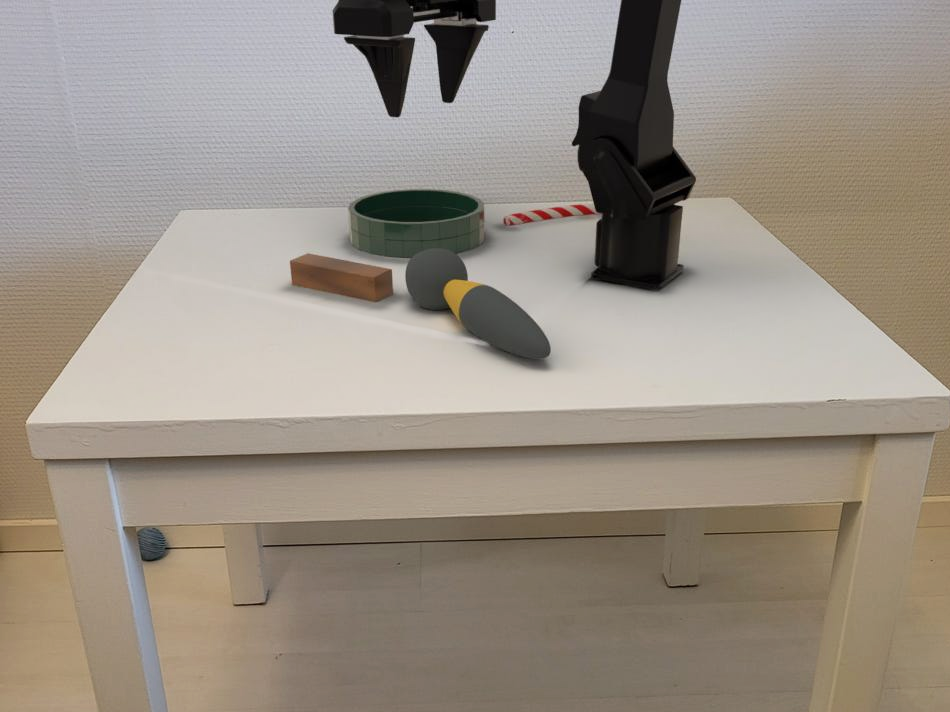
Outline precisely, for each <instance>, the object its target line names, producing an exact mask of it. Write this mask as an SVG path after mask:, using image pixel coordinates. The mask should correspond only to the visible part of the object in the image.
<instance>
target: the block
mask: <svg viewBox="0 0 950 712" xmlns="http://www.w3.org/2000/svg"><path fill="white" fill-rule="evenodd" d="M289 266H290V277H291V285H292V286H296V287H301V288H306V289H310V290H315V291H320V292H325V293H328V294H329V293H330V294H334V295H339V296H344V297H348V298H353V299H358V300H363V301H368V302H373V303H378V302H379V301H382V300H384V299H385V298H388V297H390V296H392V295H393V294H394V283H393V281H394V280H393V269H392V268H388V267H382V266H377V265H371V264H366V263H361V262H356V261H351V260H347V259H341V258H334V257H330V256H324V255H318V254H314V253H308V252H307V253H305V254H303V255H300V256H298V257H295V258H293V259H290V260H289Z"/></svg>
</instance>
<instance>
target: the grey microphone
mask: <svg viewBox="0 0 950 712" xmlns="http://www.w3.org/2000/svg"><path fill="white" fill-rule="evenodd" d="M404 279H405V285H406V289H407V292H408V294H409V296H410V297H411V299H412V300H413V301H414V302H415V304H417V305H418V306H419V307H421V308H423V309H426V310H430V311H443V310H444V311H445V310H447V309H448V310H449V309H451V311H452V313H453V314H454V316H455V317H456V318H457V320H458V321H459V322H460V323H461V325H462V326H463V328H465V329H467V331H469V332H470V333H472V334H474V335H475V336H477V337H478V338H480V339H481V340H483V341H484V342H486V343H488V344H490V345H492V346H493V347H496V348H498V349H501V350H503V351H505V352H506V353H507V352H508V353H511V354H513V355H515V356H519V357H521V358H526V359H532V360H542V359H545V358H548V357H549V356H550V354H551V351H552V349H551V343H550V341H549V339H548V337H547V336H546V334H545V332H544V331H543V329H542V328H541V327H540V326H539V324H538V323H537V322H536V321H535V319H533V317H532V316H530V314H528V312H527V311H525V310H524V309H523V308H522V307H521V306H520V305H519V304H517V303H516V302H515V301H513V300H512V299H511V298H510V297H508V296H507V295H506V294H504V293H502V292H501V291H500V290H497V289H496V288H494V287H492V286H490V285H487V284H484V283H480V282H475V281H470V280H469V275H468V269H467V266H466V264H465V263H464V261H463V259H462V258H461V257H460V256H459V255H458V254H455V253H454V252H452V251H450V250H447V249H441V248H433V249H427V250H424V251H422V252H419V253H417V254H416V255H414V256H413V257H412V258H409V260H408V262H407V264H406V268H405V277H404Z"/></svg>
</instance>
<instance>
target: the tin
mask: <svg viewBox="0 0 950 712" xmlns="http://www.w3.org/2000/svg"><path fill="white" fill-rule="evenodd" d="M347 214H348V215H347V216H348V229H349V230H348V231H349V240H350V243H351V245H352V246H353V247H354V248H356V249H357V250H359V251H361V252H364V253H367V254H371V255H375V256H378V257H379V256H381V257H387V258H393V259H395V258H397V259H411V258H412V257H413V256H414V255H416V254H417V253H419V252H422V251H424V250H427V249H433V248H441V249H447V250H450V251H452V252H454V253H455V254H457V255H458V254H462V253H465V252H468V251H471V250H473V249H476V248H478V247H479V246H481V245H482V244H483V242H484V240H485V202H484V201H483V200H482V199H481V198H479V197H477V196H474V195H472V194H468V193H464V192H461V191H456V190H448V189H434V188H433V189H431V188H409V189H408V188H407V189H394V190H387V191H381V192H375V193H371V194H367V195H364V196H361V197H358V198H356V199H355V200H353V201H352V202H350V203H349V205H348V207H347Z"/></svg>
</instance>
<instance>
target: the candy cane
mask: <svg viewBox="0 0 950 712" xmlns="http://www.w3.org/2000/svg"><path fill="white" fill-rule="evenodd" d="M584 215H585V216H586V215H602V213H597V212H596V210H595V206H594V203H581V204H569V205H562V206H554V207H546V208H541V209H534V210H527V211H522V212H515V213H511V214H507V215H505V216H503V219H502V223H503V225H504V226H515V225H521V224H527V223H528V224H529V223H533V222H540V221H544V220H552V219H559V218H566V217H576V216H584Z"/></svg>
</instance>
